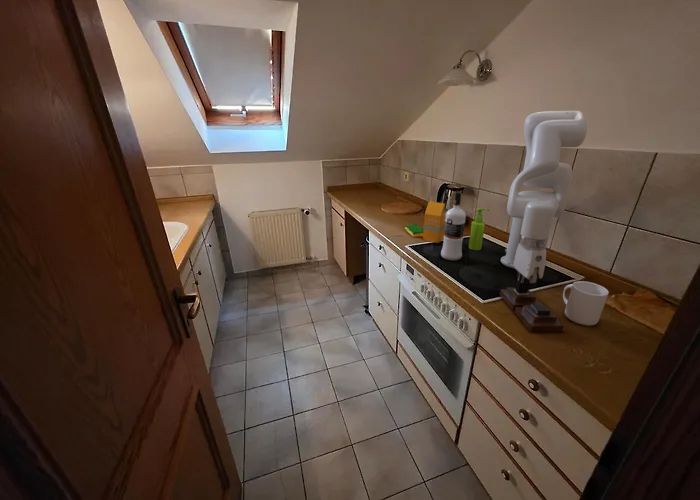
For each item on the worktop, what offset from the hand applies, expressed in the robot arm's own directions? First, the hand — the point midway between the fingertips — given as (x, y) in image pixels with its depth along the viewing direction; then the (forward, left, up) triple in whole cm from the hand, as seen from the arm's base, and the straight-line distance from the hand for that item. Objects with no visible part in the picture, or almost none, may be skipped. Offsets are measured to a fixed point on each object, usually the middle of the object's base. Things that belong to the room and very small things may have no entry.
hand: (521, 291), depth 100 cm
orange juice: (-62, -14, -4) cm, 63 cm away
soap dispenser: (-48, +3, -4) cm, 48 cm away
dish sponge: (-73, -22, -4) cm, 76 cm away
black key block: (+11, 0, -4) cm, 12 cm away
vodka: (-38, -12, -4) cm, 40 cm away
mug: (+7, +14, -4) cm, 17 cm away
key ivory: (0, 0, -2) cm, 2 cm away
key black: (+11, 0, -1) cm, 11 cm away
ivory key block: (0, 0, -4) cm, 4 cm away
